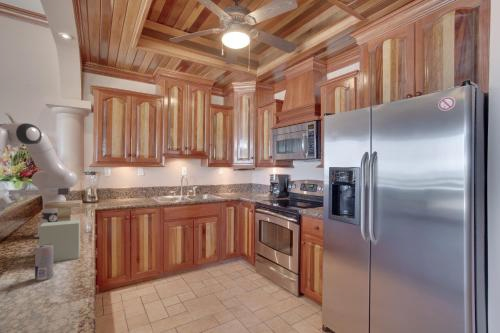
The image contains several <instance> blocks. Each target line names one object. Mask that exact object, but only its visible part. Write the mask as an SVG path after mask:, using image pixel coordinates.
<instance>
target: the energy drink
mask: <svg viewBox="0 0 500 333" xmlns="http://www.w3.org/2000/svg"><path fill="white" fill-rule="evenodd" d="M34 254H35V255H34V280H35V281H36V282H42V281H43V282H44V281H47V280H50V279H51V278H53V277H54V262H53V245H52V244H44V245H40V246H39V245H37V246H36V247H35V249H34Z"/></svg>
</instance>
